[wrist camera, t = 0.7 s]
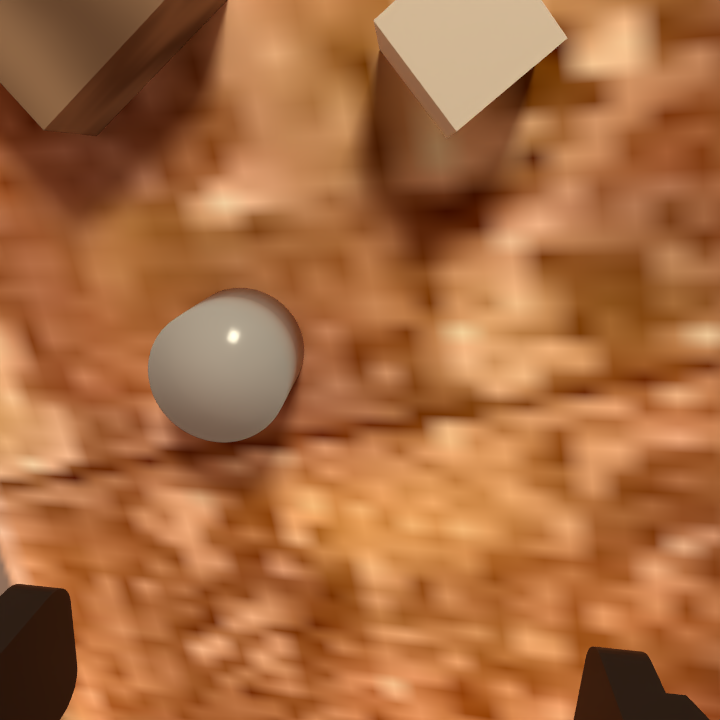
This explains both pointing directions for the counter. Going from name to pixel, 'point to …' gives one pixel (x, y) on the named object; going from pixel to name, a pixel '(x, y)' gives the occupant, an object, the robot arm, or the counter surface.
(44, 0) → the walnut block
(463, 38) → the cream block
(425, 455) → the counter surface
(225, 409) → the grey rounded capsule
